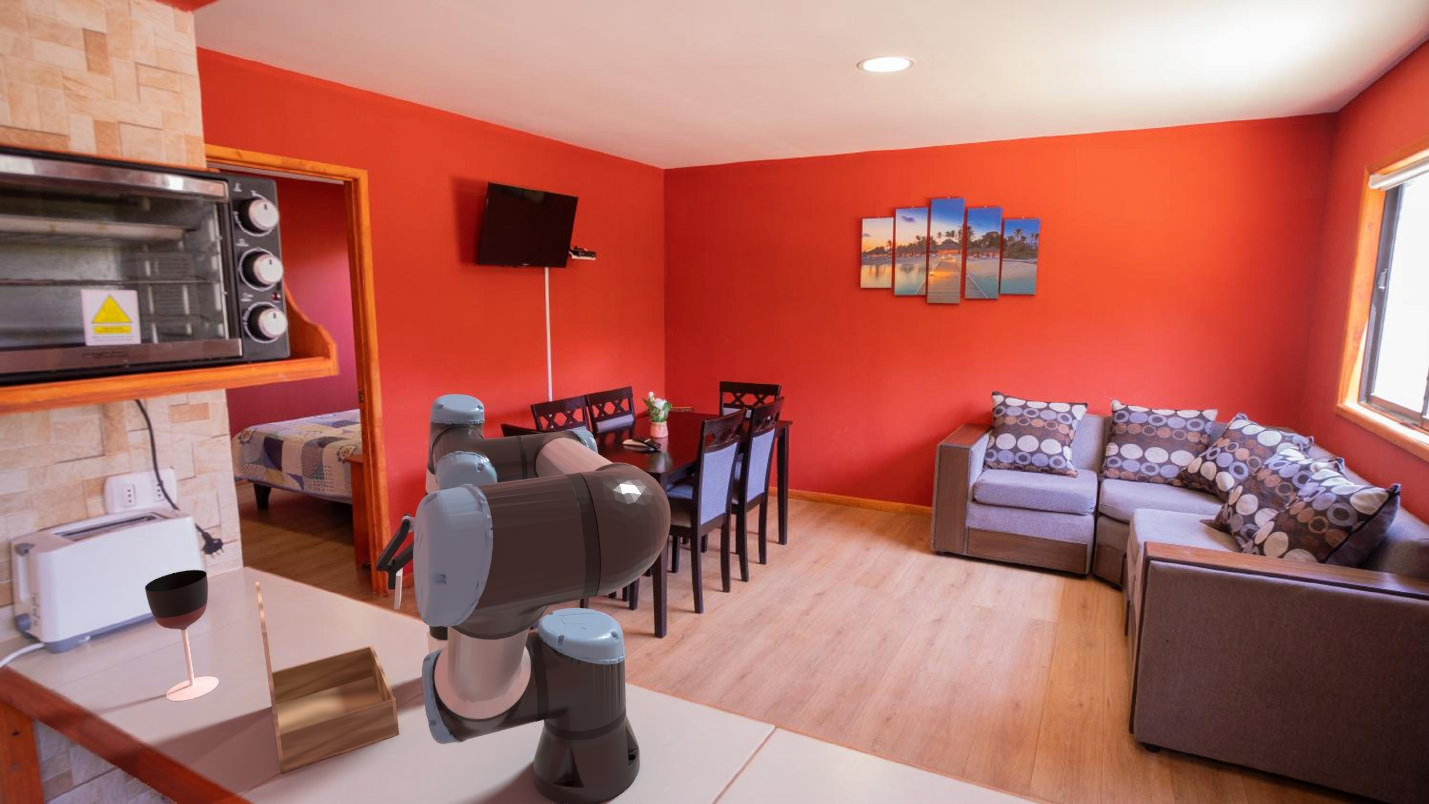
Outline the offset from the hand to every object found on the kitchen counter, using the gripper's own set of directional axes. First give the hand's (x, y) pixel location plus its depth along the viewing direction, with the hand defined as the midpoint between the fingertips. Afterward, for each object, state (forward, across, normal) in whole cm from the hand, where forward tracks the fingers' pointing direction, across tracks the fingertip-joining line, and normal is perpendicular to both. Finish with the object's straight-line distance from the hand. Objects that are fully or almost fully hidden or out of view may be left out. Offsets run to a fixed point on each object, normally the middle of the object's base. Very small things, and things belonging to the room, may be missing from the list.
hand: (442, 603), depth 121 cm
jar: (+18, -4, -2) cm, 18 cm away
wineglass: (+27, +40, -12) cm, 49 cm away
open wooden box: (+19, +15, +5) cm, 25 cm away
